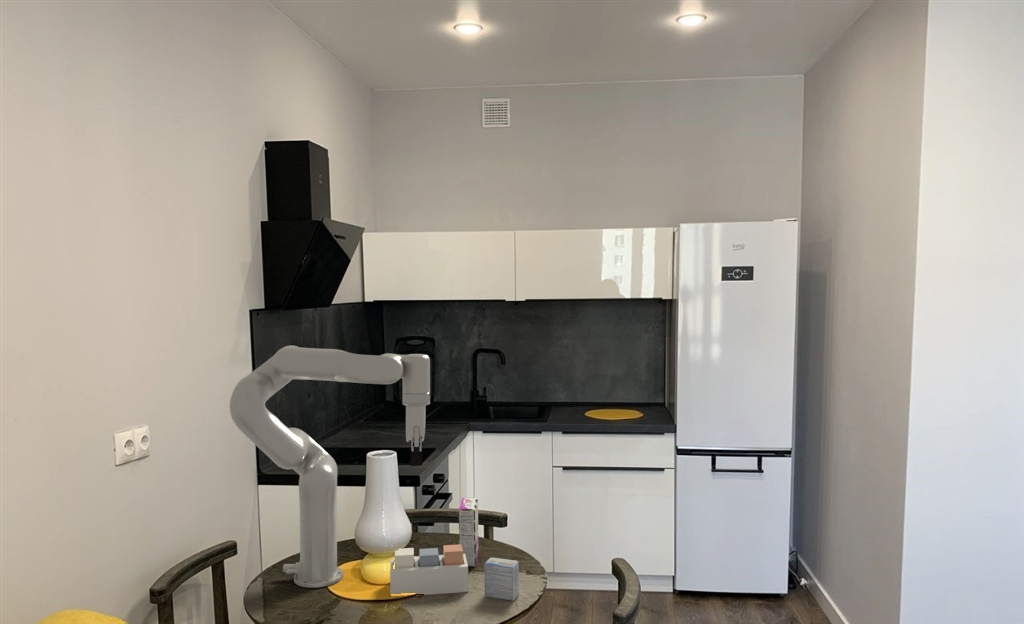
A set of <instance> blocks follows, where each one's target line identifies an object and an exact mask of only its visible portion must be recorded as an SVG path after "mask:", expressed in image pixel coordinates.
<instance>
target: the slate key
mask: <svg viewBox="0 0 1024 624" xmlns="http://www.w3.org/2000/svg"><path fill="white" fill-rule="evenodd" d="M418 550H419V553H418V554H419V555H418V556H419V567H428V566H439V555H440V554H439V548H438V547H431V548H419V549H418Z"/></svg>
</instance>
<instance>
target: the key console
mask: <svg viewBox="0 0 1024 624" xmlns="http://www.w3.org/2000/svg"><path fill="white" fill-rule="evenodd" d="M394 562H395V559H393V560H391V559H390V568H389V569H390V570H389V575H390V576H389V592H390V593H389V595H391V594H401V593H418V594H424V596H428V595H442V594H443V595H445V594H455V593H456V594H459V593H469V567H468V564H467V560H466V556H465V554H463V564H460V565H444V566H443V554H439V566H428V567H419V555H418V556H416V555H414V567H412V568H395V569H393V565H394Z"/></svg>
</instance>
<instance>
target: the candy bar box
mask: <svg viewBox="0 0 1024 624" xmlns="http://www.w3.org/2000/svg"><path fill="white" fill-rule="evenodd" d="M458 540H459V541H458V545H459V544H462V548H463V554H465V556H466V560H467V564H468V568H469V567H471V568H472V567H473V568H474V567H476V566H477V562H478V556H479V552H480V551H479V550H480V549H479V498H478V497H462V499H461V502H460V504H459V507H458Z"/></svg>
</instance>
